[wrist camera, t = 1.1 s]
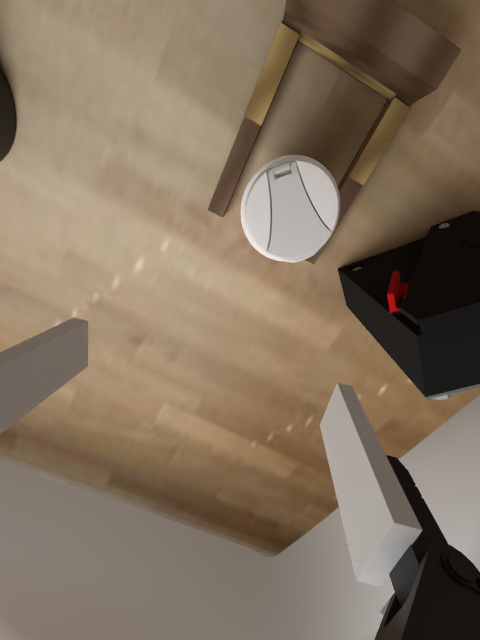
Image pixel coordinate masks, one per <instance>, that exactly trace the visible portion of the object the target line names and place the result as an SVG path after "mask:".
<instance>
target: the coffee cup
mask: <svg viewBox="0 0 480 640" xmlns="http://www.w3.org/2000/svg"><path fill="white" fill-rule="evenodd" d="M339 213H340V195H339V191H338V187H337V184H336V182H335V179H334V178H333V176H332V175H331V173H330V172H329V171H328V170H327V169H326V167H325V166H323V165H322V164H321V163H319V162H318V161H316V160H314V159H312V158H310V157H307V156H303V155H285V156H282V157H278V158H276V159H274V160H272V161H269V162H268V163H267V164H265V165H264V166H262V167H261V168H260V169H259V170H258V171H257V172H256V173H255V174H254V176H253V177H252V178H251V180H250V181H249V183H248V185H247V187H246V189H245V192H244V194H243V198H242V203H241V222H242V226H243V230H244V232H245V235H246V237H247V238H248V240H249V242H250V243H251V244H252V246H253V247H254V248H255V249H256V250H257V251H259V252H260V253H261V254H263V255H264V256H266V257H268V258H271V259H274V260H278V261H286V262H293V263H294V262H298V261H302V260H305V259H307V258H309V257H311V256H313V255H315V253H316V252H317V251H318V250H319V249H320V248H321V247H322V246H323V245H324V244H325V243H326V242H327V240H328V239H329V238H330V236H331V235H332V233H333V231H334V229H335V227H336V224H337V221H338V218H339Z"/></svg>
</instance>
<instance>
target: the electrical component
mask: <svg viewBox="0 0 480 640" xmlns="http://www.w3.org/2000/svg"><path fill="white" fill-rule="evenodd" d="M425 237H426V238H423V239H420V240H417V241H414V242H412V243H409V244H406V245H403V246H400V247H398V248H395V249H392V250H389V251H386V252H383V253H381V254H378V255H375V256H372V257H369V258H367V259H364V260H361V261H358V262H355V263H352V264H350V265H347V266H344V267H341V268H338V272H339V276H340V280H341V284H342V288H343V292H344V296H345V300H346V305H347V307H348V308H349V309H350V310H351V311H352V313H353V314H354V315H355V316H356V317H357V318H358V319H359V321H360V322H361V323H362V324H363V325H364V326H365V328H366V329H367V330H368V331H369V332H370V333H371V335H372V336H373V337H374V338H375V339H376V340H377V342H378V343H379V344H380V345H381V346H382V347H383V348H384V350H385V351H386V352H387V353H388V354H389V355H390V357H391V358H392V359H393V360H394V361H395V362H396V364H397V365H398V366H399V367H400V368H401V369H402V370H403V372H404V373H405V374H406V375H407V376H408V378H409V379H410V380H411V381H412V382H413V383H414V385H415V386H416V387H417V388H418V389H419V390H420V392H421V393H422V394H423V395H424V396H425V397H426V398H427V400H428V399H437V400H443V399H448V398H449V397H450V396H451V394H453V393H457V392H461V391H465V390H469V389H473V388H477V387H480V212H478V211H472V212H469V213H467V214H464V215H461V216H459V217H456V218H453V219H450V220H448V221H445V222H442V223H440V224H437V225H435V226H432V227H431V229H430V231H429V234H428V236H425Z"/></svg>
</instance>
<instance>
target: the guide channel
mask: <svg viewBox="0 0 480 640" xmlns="http://www.w3.org/2000/svg"><path fill="white" fill-rule="evenodd" d="M298 41H299V42H301V43H302V44H304V45H305V46H307V47H308V48H310V49H312V50H313V51H315V52H316V53H318V54H319V55H321V56H322V57H324V58H325V59H327V60H328V61H330V62H331V63H333V64H334V65H336V66H338V67H339V68H341V69H342V70H344V71H345V72H347V73H348V74H350V75H351V76H353V77H354V78H356V79H357V80H359V81H360V82H362V83H364V84H365V85H367V86H368V87H370V88H371V89H373V90H374V91H376V92H377V93H379V94H380V95H382V96H383V97H385V98H387V99H388V100H387V102H386V104H385V106H384V107H383V109H382V111H381V113H380V114H379V116H378V118H377V120H376V121H375V123H374V125H373V127H372V128H371V130H370V132H369V133H368V135H367V137H366V139H365V140H364V142H363V144H362V146H361V147H360V149H359V151H358V153H357V154H356V156H355V158H354V160H353V161H352V163H351V165H350V166H349V168H348V170H347V172H346V173H345V175H344V177H343V179H342V180H341V182H340V184H339V186H338V191H339V195H340V213H339V218H338V221H337V224H336V227H335V229H336V228H337V226H338V224H339V223H340V221H341V219H342V218H343V216H344V214H345V213H346V211H347V210H348V208H349V206H350V205H351V203H352V201H353V200H354V198H355V196H356V195H357V193H358V192H359V190H360V188H361V187H362V185H364V184H365V182H366V181H367V179H368V177H369V176H370V174H371V173H372V171H373V169H374V168H375V166H376V164H377V163H378V161H379V160H380V158H381V156H382V155H383V153H384V151H385V150H386V148H387V146H388V145H389V143H390V142H391V140H392V138H393V137H394V135H395V133H396V132H397V130H398V129H399V127H400V125H401V124H402V122H403V120H404V119H405V117H406V115H407V114H408V112H409V111H410V109H411V108H410V106H411V105H412V103H414V102H416V101H417V100H419V99H421V98H422V97H424V96H426V95H428V94H429V93H431V92H433V91H434V90H436V89H437V88H438V86H439V84H440V83H441V81H442V80H443V78H444V76H445V75H446V73H447V72H448V70H449V69H450V67H451V65H452V64H453V62H454V61H455V59H456V57H457V56H458V54H459V53H460V51H461V49H460V48H459V47H457V46H456V45H455V44H453V43H452V42H450V41H449V40H448V39H446V38H445V37H444V36H442V35H441V34H439V33H438V32H437V31H435V30H434V29H433V28H431V27H430V26H428V25H427V24H426V23H424V22H423V21H421V20H420V19H419V18H417V17H416V16H415V15H413V14H412V13H410V12H409V11H408V10H406V9H405V8H404V7H402V6H401V5H399V4H398V3H397V2H395V1H394V0H287V1H286V6H285V12H284V18H283V21H282V23H280V26H279V28H278V31H277V33H276V36H275V38H274V41H273V43H272V46H271V48H270V51H269V54H268V56H267V59H266V61H265V64H264V66H263V69H262V71H261V74H260V76H259V79H258V82H257V84H256V87H255V89H254V92H253V94H252V97H251V99H250V102H249V104H248V107H247V109H246V112H245V115H244V116H245V117H244V119H243V122H242V124H241V127H240V129H239V132H238V135H237V137H236V140H235V142H234V145H233V147H232V150H231V152H230V155H229V157H228V160H227V162H226V165H225V167H224V170H223V173H222V175H221V178H220V180H219V183H218V185H217V188H216V190H215V193H214V195H213V198H212V200H211V203H210V205H209V208H208V210H209V211H211V212H213V213H215V214H217V215H219V216H221V217H223V216H224V215H225V212H226V210H227V208H228V205H229V203H230V201H231V198H232V196H233V194H234V191H235V189H236V186H237V184H238V182H239V179H240V177H241V175H242V172H243V170H244V168H245V165H246V163H247V160H248V158H249V156H250V153H251V151H252V149H253V146H254V144H255V142H256V139H257V137H258V135H259V132H260V130H261V127H262V125H263V123H264V120H265V118H266V116H267V113H268V111H269V109H270V106H271V104H272V101H273V99H274V97H275V94H276V92H277V90H278V87H279V85H280V83H281V80H282V78H283V76H284V73H285V71H286V68H287V66H288V64H289V61H290V59H291V57H292V54H293V52H294V50H295V47H296V45H297V42H298ZM335 229H334V231H335ZM334 231H333V233H334ZM333 233H332V234H333ZM331 236H332V235H331ZM331 236H330V237H331ZM329 239H330V238H329ZM329 239H328V240H327V242H328V241H329ZM327 242H326V243H325V244H324V245H323V246H322V247H321V248H320V249H319V250H318V251H317V252H316V253H315V255H313V256H311V257H309V258H307V259H305V260H307V261H309V262H310V263H312V264H315V262H316V260H317V259H318V257H319V255H320V254H321V252H322V251H323V249H324V247H325V246H326V244H327Z"/></svg>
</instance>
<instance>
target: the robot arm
mask: <svg viewBox="0 0 480 640" xmlns="http://www.w3.org/2000/svg"><path fill="white" fill-rule="evenodd" d="M15 126H16V118H15V108H14V103H13V98H12V95H11V91H10V88H9V86H8V83H7V80H6V78H5V76H4V74H3V72H2V70H1V68H0V161H1V160H2V159H3V158H4V157H5V156H6V155H7V153H8V152H9V150H10V148H11V145H12V143H13V139H14V135H15ZM86 367H88V321H85V320H81V319H77V318H72V319H70V320H68V321H66V322H64V323H62V324H59V325H57V326H55V327H53V328H51V329H49V330H47V331H45V332H43V333H40V334H38V335H36V336H34V337H32V338H30V339H28V340H26V341H24V342H21V343H19V344H17V345H15V346H13V347H11V348H9V349H7V350H5V351H2V352H0V434H1V433H2V432H3V431H5V430H6V429H7V428H9V427H10V426H11V425H12V424H14V423H15V422H16V421H18V420H19V419H20V418H21V417H23V416H24V415H25V414H27V413H28V412H29V411H31V410H32V409H33V408H34V407H36V406H37V405H38V404H40V403H41V402H42V401H43V400H45V399H46V398H47V397H49V396H50V395H51V394H53V393H54V392H55V391H56V390H58V389H59V388H60V387H62V386H63V385H64V384H66V383H67V382H68V381H69V380H71V379H72V378H73V377H75V376H76V375H77V374H78V373H80V372H81V371H82V370H84V369H85V368H86ZM320 428H321V432H322V437H323V441H324V445H325V449H326V454H327V458H328V462H329V466H330V471H331V475H332V479H333V483H334V488H335V492H336V496H337V500H338V505H339V509H340V513H341V517H342V522H343V526H344V530H345V534H346V539H347V543H348V547H349V551H350V556H351V560H352V564H353V568H354V573H355V577H356V580H357V581H361V582H365V583H368V584H372V585H375V586H379V587H382V585H383V584H384V583H385V581H386V580H387V578H388V577H389V576H390V578H391V581H392V584H393V587H394V590H395V593H394V594H393V596H392V597H391V598H390V600H389V601H388V602H387V603H386V605H385V606H384V607H383V609H382V610H381V613H382V614H383V615H384V617H383V619H382V622H381V624H380V627H379V630H378V632H377V635H376V637H375V640H480V572H479V571H478V569H477V568H476V567H475V566H474V564H473V563H472V562H471V561H470V560H469V559H468V558H467V557H466V556H464V555H463V554H462V553H461V552H460V551H458V550H457V549H455V548H454V547H452V546H451V545H449V544H448V543H447V541H446V539H445V537H444V535H443V534H442V532H441V530H440V528H439V526H438V525H437V523H436V521H435V519H434V517H433V516H432V514H431V512H430V510H429V508H428V506H427V505H426V503H425V501H424V499H423V498H422V497H421V496H422V495H421V494H420V492H419V490H418V488H417V487H415V483H414V481H413V479H412V477H411V475H410V474H409V472H408V470H407V469H406V468H405V467H404V466H403V465H402V463H401V462H400V461H399V460H398V459H397V458H396V457H392V456H388V455H386V454H385V452H384V450H383V448H382V446H381V444H380V442H379V440H378V438H377V436H376V434H375V432H374V430H373V428H372V426H371V424H370V422H369V420H368V418H367V416H366V414H365V412H364V410H363V407H362V405H361V403H360V401H359V399H358V397H357V395H356V393H355V391H354V389H353V387H352V386H348V385H344V384H340V383H337V384H336V387H335V389H334V392H333V394H332V397H331V399H330V401H329V404H328V406H327V409H326V411H325V414H324V416H323V418H322V421H321V423H320Z"/></svg>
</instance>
